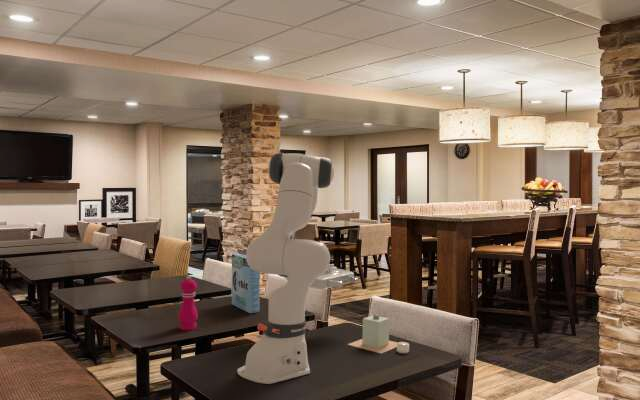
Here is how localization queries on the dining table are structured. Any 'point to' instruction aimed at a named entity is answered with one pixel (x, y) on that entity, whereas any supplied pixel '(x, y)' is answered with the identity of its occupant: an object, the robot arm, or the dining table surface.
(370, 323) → the pale green square canister
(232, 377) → the dining table surface
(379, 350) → the mat
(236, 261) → the gum box
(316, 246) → the robot arm
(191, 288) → the pepper mill
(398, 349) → the cream short cylinder
